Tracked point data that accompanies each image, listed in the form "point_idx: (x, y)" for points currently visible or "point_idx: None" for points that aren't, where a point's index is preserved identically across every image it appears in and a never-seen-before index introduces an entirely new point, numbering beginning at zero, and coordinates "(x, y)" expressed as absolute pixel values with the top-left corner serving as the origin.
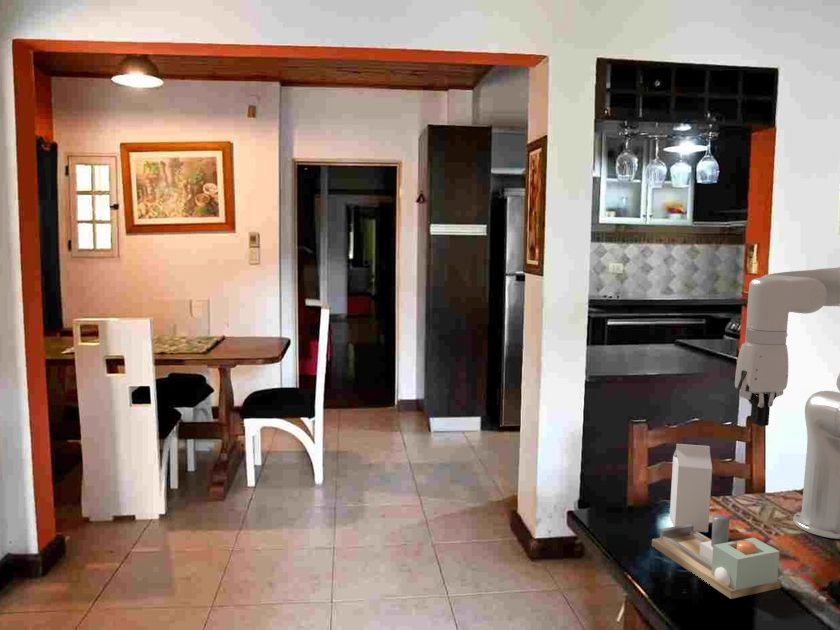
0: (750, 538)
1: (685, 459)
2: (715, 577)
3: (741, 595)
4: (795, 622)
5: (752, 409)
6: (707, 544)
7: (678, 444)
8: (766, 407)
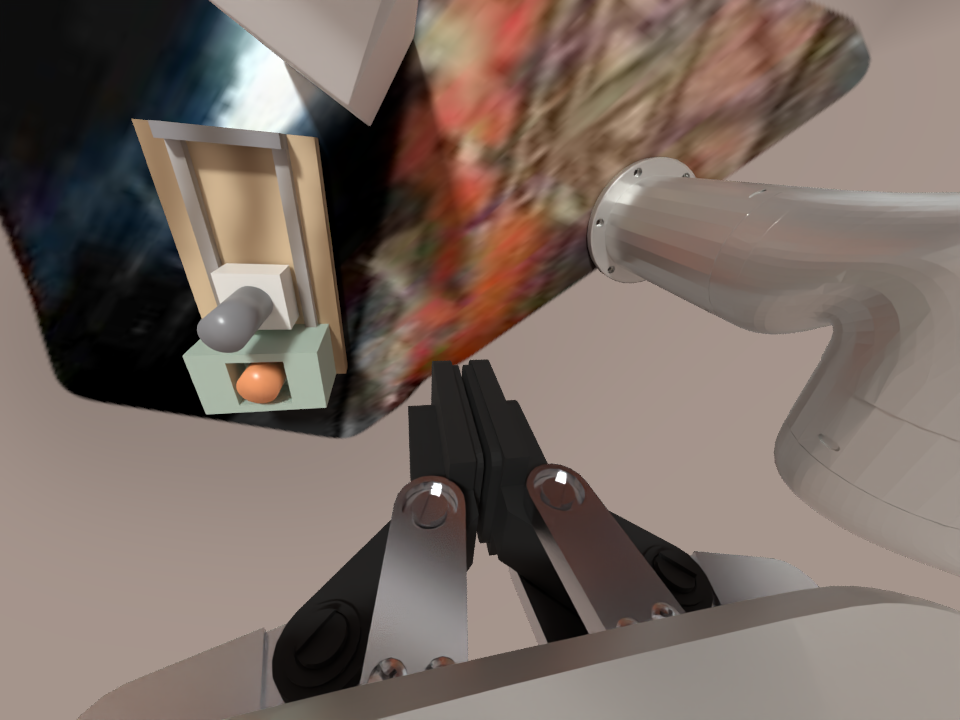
0: (304, 354)
1: None
2: None
3: None
4: (296, 432)
5: (411, 468)
6: (226, 287)
7: None
8: (488, 543)
